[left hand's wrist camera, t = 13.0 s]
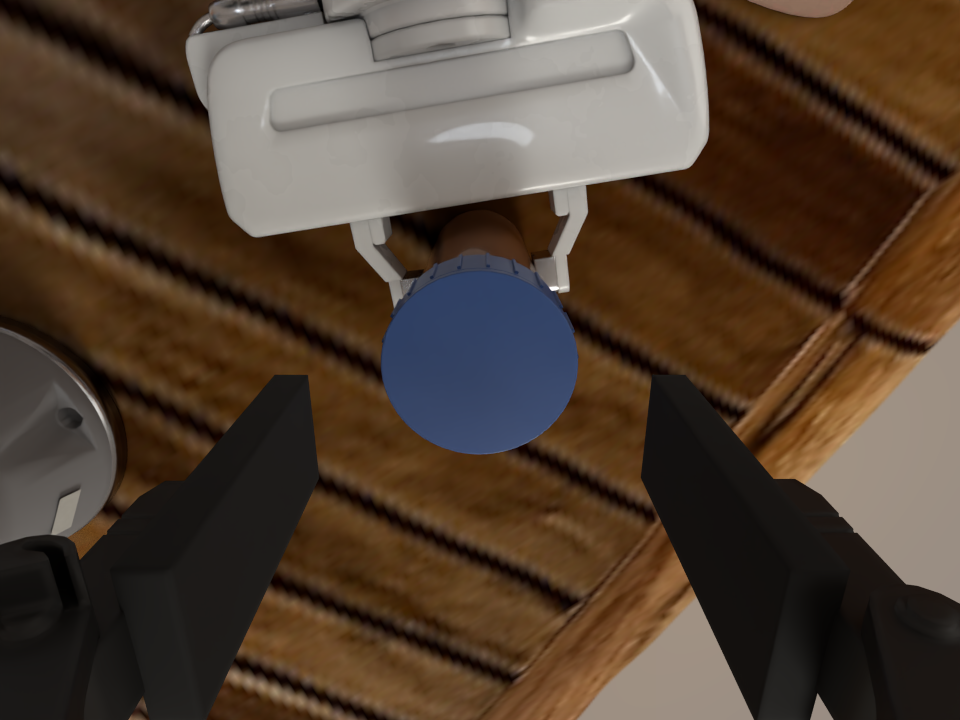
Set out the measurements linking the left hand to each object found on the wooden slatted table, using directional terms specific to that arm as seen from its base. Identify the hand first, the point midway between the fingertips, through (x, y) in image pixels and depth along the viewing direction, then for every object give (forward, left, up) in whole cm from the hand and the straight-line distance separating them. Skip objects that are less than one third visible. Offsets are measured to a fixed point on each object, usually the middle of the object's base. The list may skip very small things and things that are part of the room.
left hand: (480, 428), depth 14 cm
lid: (0, 0, -4) cm, 4 cm away
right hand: (+1, -1, -15) cm, 15 cm away
